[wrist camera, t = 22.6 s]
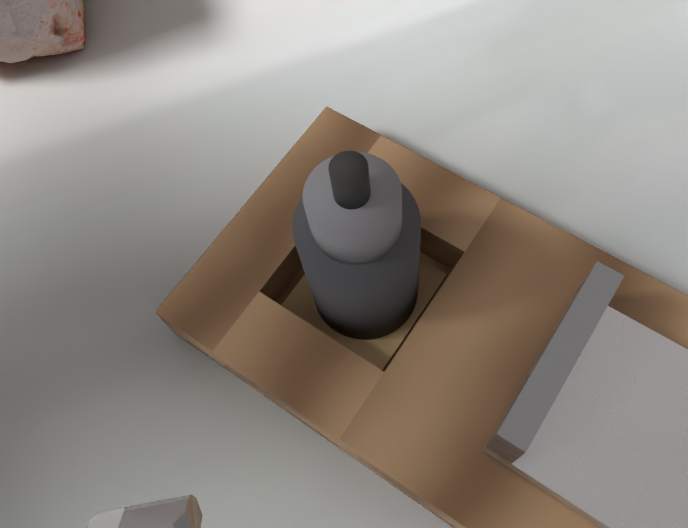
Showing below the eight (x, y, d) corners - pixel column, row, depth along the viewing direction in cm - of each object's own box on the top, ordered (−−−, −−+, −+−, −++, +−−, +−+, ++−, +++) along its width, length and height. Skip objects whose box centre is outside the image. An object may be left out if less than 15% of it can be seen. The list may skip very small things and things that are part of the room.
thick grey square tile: (481, 450, 23) (496, 433, 20) (571, 296, 25) (596, 261, 22) (672, 574, 21) (720, 576, 18) (751, 395, 23) (805, 371, 20)
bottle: (293, 302, 28) (244, 185, 20) (353, 226, 29) (333, 85, 21) (378, 360, 27) (365, 261, 18) (438, 276, 28) (452, 148, 19)
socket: (174, 332, 28) (155, 311, 26) (330, 139, 32) (326, 106, 30) (548, 594, 23) (567, 597, 21) (682, 329, 27) (710, 307, 25)
